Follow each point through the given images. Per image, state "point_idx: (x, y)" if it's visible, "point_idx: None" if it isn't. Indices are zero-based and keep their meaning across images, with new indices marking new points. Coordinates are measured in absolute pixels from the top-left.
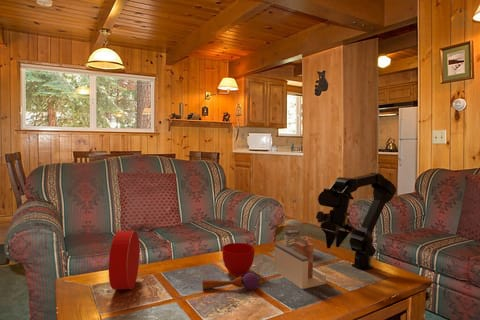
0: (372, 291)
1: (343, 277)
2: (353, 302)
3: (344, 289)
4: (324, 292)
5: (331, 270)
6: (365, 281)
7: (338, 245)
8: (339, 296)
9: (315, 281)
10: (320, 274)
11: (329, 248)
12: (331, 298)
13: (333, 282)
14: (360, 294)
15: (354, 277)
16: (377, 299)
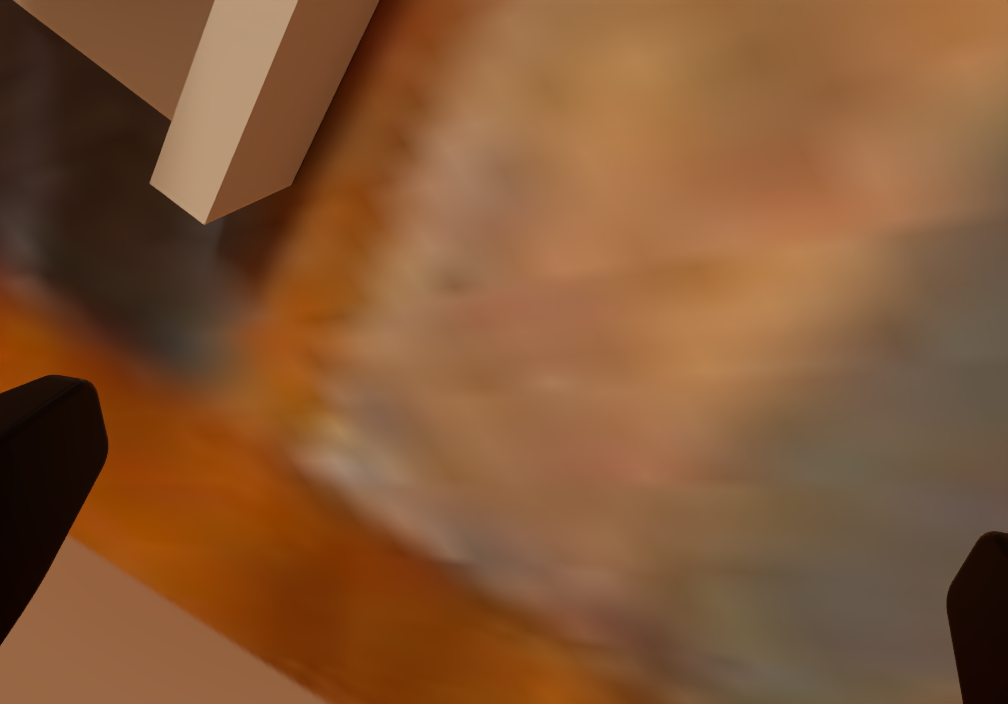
0: (425, 659)
1: (653, 378)
2: (109, 496)
3: (292, 414)
4: (82, 221)
5: (904, 143)
6: (660, 629)
7: (971, 657)
8: (117, 379)
9: (161, 51)
10: (175, 126)
11: (82, 450)
12: (30, 313)
13: (396, 270)
14: (290, 556)
15: (734, 517)
16: (293, 671)
